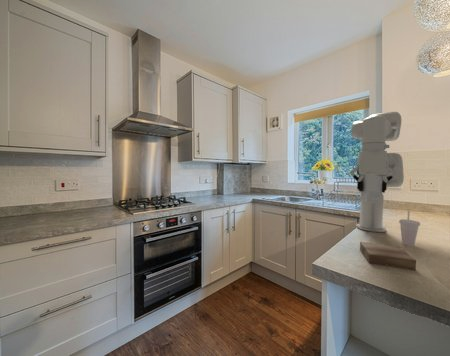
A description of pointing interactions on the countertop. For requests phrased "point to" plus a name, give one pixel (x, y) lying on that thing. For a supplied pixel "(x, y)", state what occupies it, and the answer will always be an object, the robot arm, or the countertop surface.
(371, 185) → the skincare box
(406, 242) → the smoothie
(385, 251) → the podium
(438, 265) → the countertop surface
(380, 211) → the robot arm
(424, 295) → the countertop surface
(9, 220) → the countertop surface
